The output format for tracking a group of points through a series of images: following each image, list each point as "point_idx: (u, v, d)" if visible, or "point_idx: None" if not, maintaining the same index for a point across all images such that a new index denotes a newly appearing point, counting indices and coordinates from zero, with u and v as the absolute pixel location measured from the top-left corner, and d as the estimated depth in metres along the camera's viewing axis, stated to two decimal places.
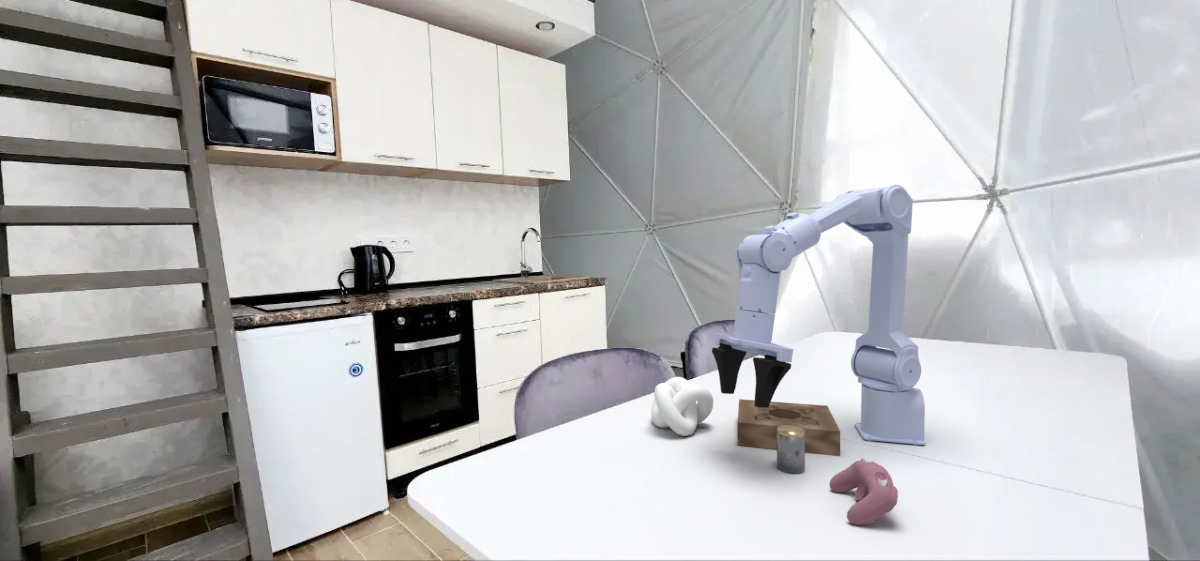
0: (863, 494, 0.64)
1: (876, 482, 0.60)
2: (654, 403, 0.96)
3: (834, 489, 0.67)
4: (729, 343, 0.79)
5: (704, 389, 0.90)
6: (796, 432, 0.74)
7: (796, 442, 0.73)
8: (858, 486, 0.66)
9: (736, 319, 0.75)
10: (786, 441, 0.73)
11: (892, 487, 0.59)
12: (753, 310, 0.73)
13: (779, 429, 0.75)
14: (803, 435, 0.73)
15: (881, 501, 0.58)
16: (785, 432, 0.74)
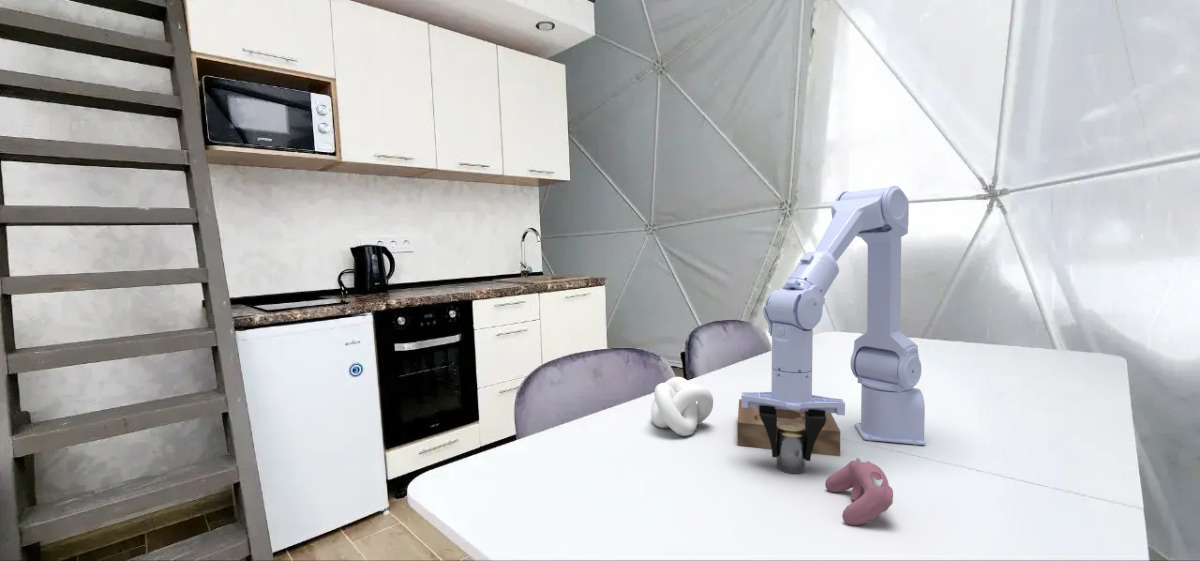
0: (858, 494, 0.64)
1: (871, 482, 0.60)
2: (654, 403, 0.96)
3: (830, 489, 0.67)
4: (759, 403, 0.76)
5: (704, 389, 0.90)
6: (796, 432, 0.74)
7: (796, 442, 0.73)
8: (854, 486, 0.66)
9: (785, 382, 0.72)
10: (786, 441, 0.73)
11: (887, 487, 0.59)
12: (806, 371, 0.72)
13: (779, 429, 0.75)
14: (803, 435, 0.73)
15: (876, 501, 0.58)
16: (785, 432, 0.74)
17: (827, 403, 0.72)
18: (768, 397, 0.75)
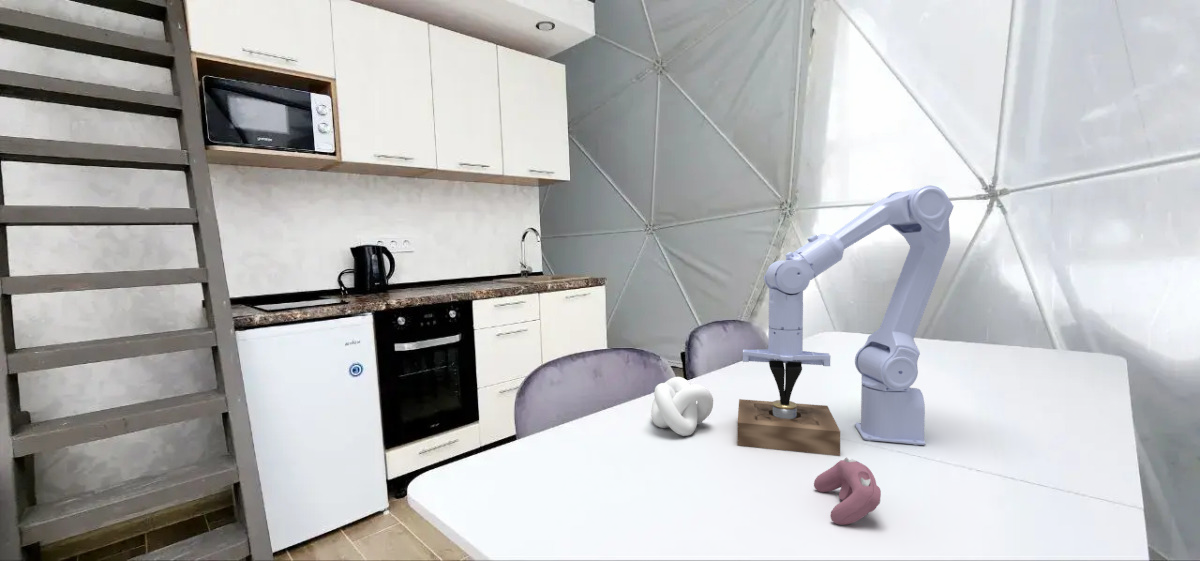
0: (847, 494, 0.64)
1: (859, 482, 0.60)
2: (654, 403, 0.96)
3: (818, 489, 0.68)
4: (758, 358, 0.89)
5: (704, 389, 0.90)
6: (789, 405, 0.87)
7: (789, 413, 0.86)
8: (842, 486, 0.66)
9: (780, 338, 0.85)
10: (780, 412, 0.86)
11: (875, 487, 0.59)
12: (797, 329, 0.85)
13: (774, 403, 0.88)
14: (795, 407, 0.86)
15: (864, 501, 0.58)
16: (779, 405, 0.87)
17: (815, 356, 0.85)
18: (765, 352, 0.88)
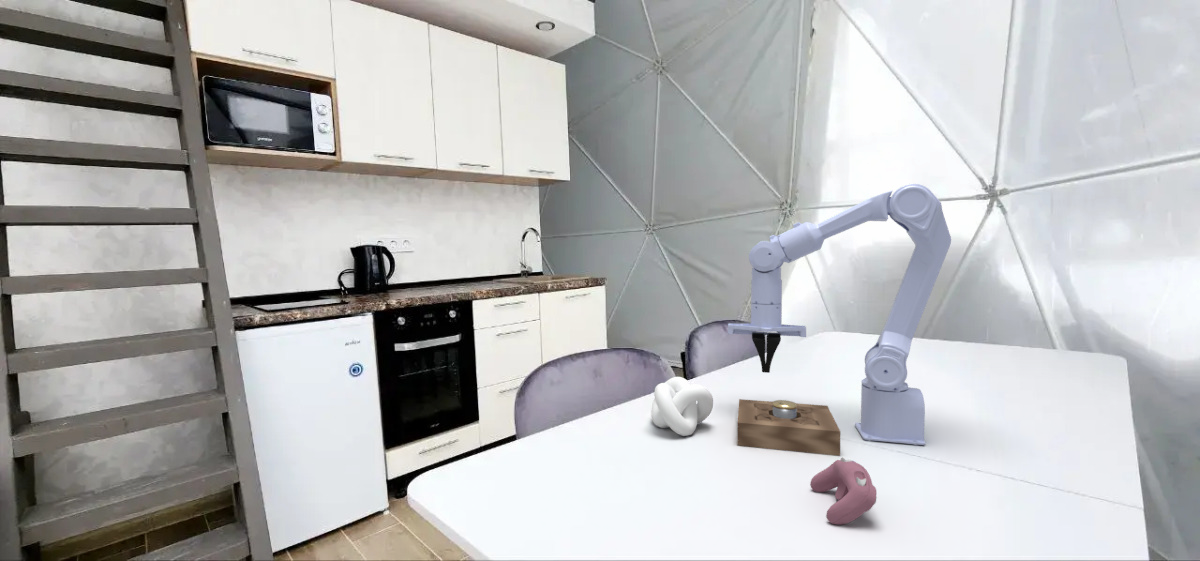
0: (843, 493, 0.64)
1: (855, 481, 0.60)
2: (654, 403, 0.96)
3: (815, 489, 0.68)
4: (742, 331, 0.98)
5: (704, 389, 0.90)
6: (789, 405, 0.87)
7: (789, 413, 0.86)
8: (838, 485, 0.66)
9: (761, 312, 0.95)
10: (780, 412, 0.86)
11: (871, 486, 0.59)
12: (776, 303, 0.94)
13: (774, 403, 0.88)
14: (795, 407, 0.86)
15: (859, 500, 0.59)
16: (779, 405, 0.87)
17: (792, 328, 0.94)
18: (748, 326, 0.98)
